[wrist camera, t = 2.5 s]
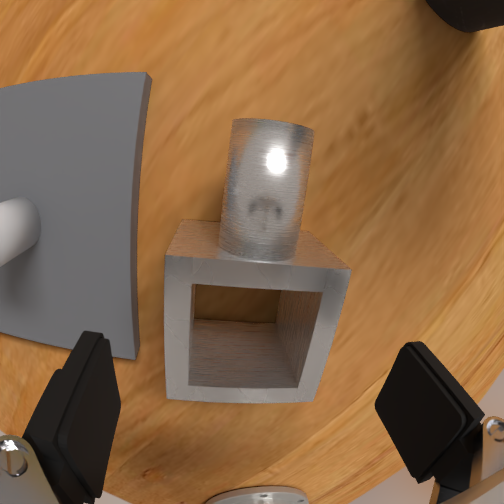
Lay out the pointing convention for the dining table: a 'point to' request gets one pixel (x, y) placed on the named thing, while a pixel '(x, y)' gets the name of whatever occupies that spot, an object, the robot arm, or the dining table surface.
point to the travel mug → (470, 13)
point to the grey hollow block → (254, 279)
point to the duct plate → (71, 208)
